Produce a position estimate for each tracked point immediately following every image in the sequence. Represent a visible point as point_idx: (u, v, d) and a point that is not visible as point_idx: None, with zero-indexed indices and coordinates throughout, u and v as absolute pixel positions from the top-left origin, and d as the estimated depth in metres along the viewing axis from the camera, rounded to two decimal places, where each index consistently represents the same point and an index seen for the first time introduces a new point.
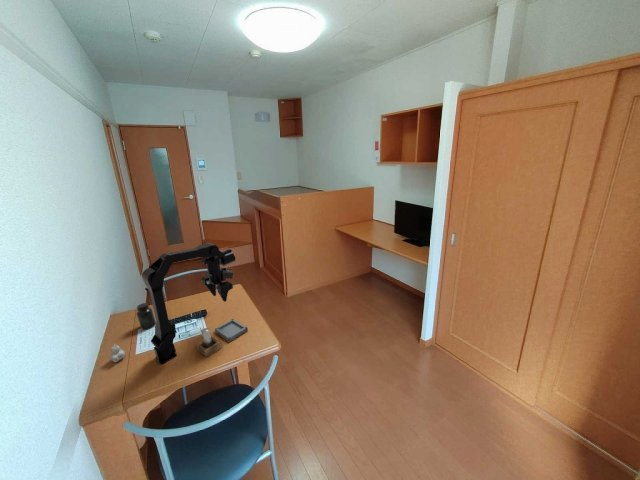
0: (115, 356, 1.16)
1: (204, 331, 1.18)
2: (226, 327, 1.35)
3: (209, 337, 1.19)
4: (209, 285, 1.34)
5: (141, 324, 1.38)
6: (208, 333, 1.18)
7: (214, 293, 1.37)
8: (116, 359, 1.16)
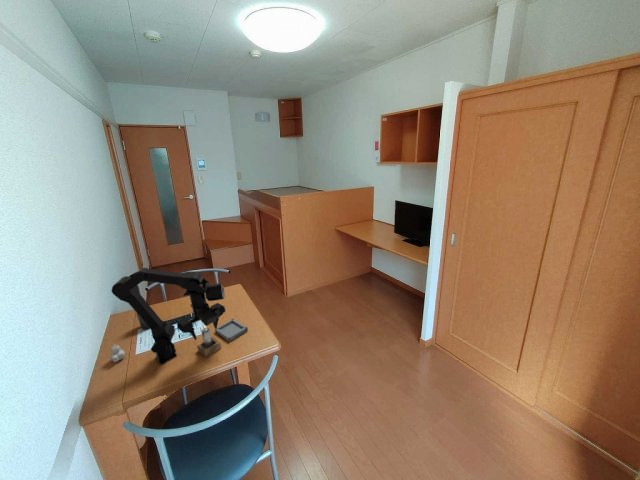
0: (115, 356, 1.16)
1: (204, 331, 1.18)
2: (226, 327, 1.35)
3: (209, 337, 1.19)
4: None
5: (141, 324, 1.38)
6: (208, 333, 1.18)
7: (214, 326, 1.22)
8: (116, 359, 1.16)
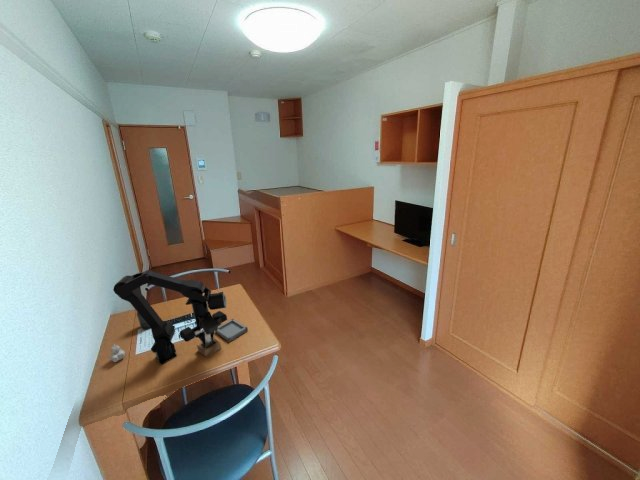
0: (115, 356, 1.16)
1: (204, 331, 1.18)
2: (226, 327, 1.35)
3: (209, 337, 1.19)
4: None
5: (141, 324, 1.38)
6: None
7: None
8: (116, 359, 1.16)
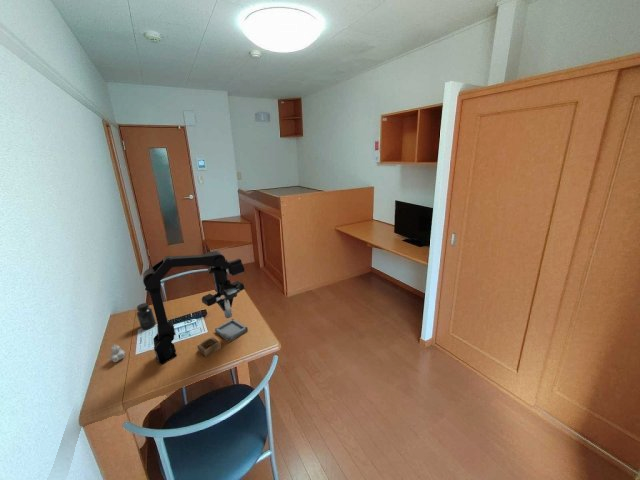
0: (115, 356, 1.16)
1: (224, 298, 1.26)
2: (226, 327, 1.35)
3: (228, 304, 1.27)
4: None
5: (141, 324, 1.38)
6: (227, 300, 1.26)
7: None
8: (116, 359, 1.16)
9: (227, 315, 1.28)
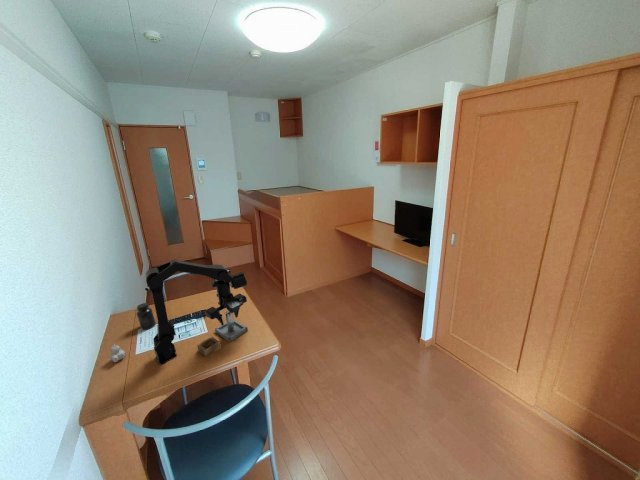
0: (115, 356, 1.16)
1: (227, 313, 1.29)
2: (226, 327, 1.35)
3: (231, 318, 1.30)
4: None
5: (141, 324, 1.38)
6: (231, 315, 1.29)
7: (235, 315, 1.33)
8: (116, 359, 1.16)
9: (230, 329, 1.31)
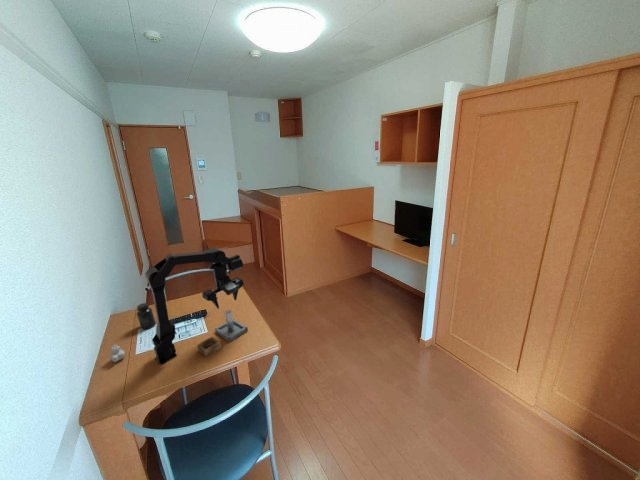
0: (115, 356, 1.16)
1: (227, 313, 1.29)
2: (226, 327, 1.35)
3: (231, 318, 1.30)
4: None
5: (141, 324, 1.38)
6: (230, 315, 1.29)
7: (234, 298, 1.35)
8: (116, 359, 1.16)
9: (230, 329, 1.31)
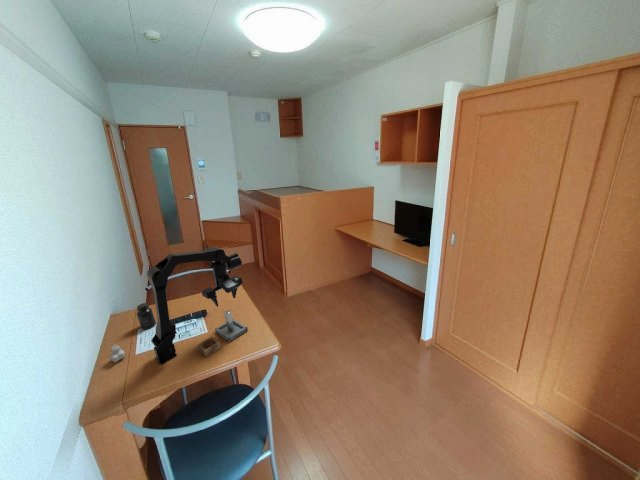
0: (115, 356, 1.16)
1: (226, 313, 1.29)
2: (226, 327, 1.35)
3: (231, 318, 1.30)
4: None
5: (141, 324, 1.38)
6: (230, 315, 1.29)
7: (233, 296, 1.38)
8: (116, 359, 1.16)
9: (230, 329, 1.31)
